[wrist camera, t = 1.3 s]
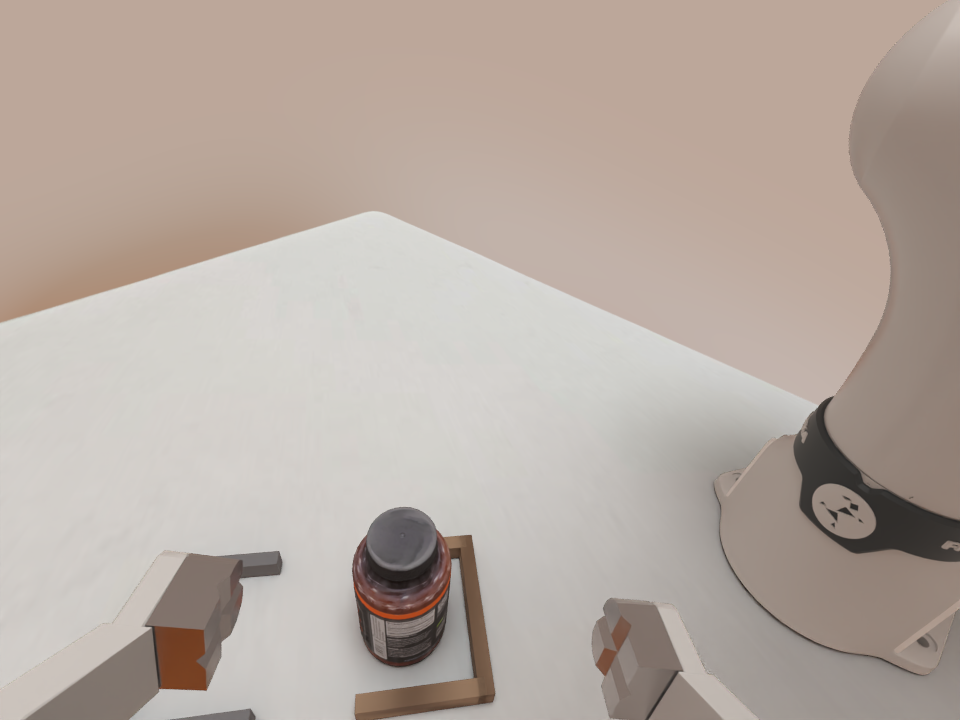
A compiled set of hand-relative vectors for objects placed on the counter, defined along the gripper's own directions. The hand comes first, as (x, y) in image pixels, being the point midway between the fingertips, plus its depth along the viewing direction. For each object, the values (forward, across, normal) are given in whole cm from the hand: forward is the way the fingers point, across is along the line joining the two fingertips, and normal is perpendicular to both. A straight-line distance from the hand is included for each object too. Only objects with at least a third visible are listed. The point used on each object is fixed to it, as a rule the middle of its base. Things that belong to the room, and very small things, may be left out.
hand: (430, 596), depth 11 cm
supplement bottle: (+16, -1, +23) cm, 28 cm away
